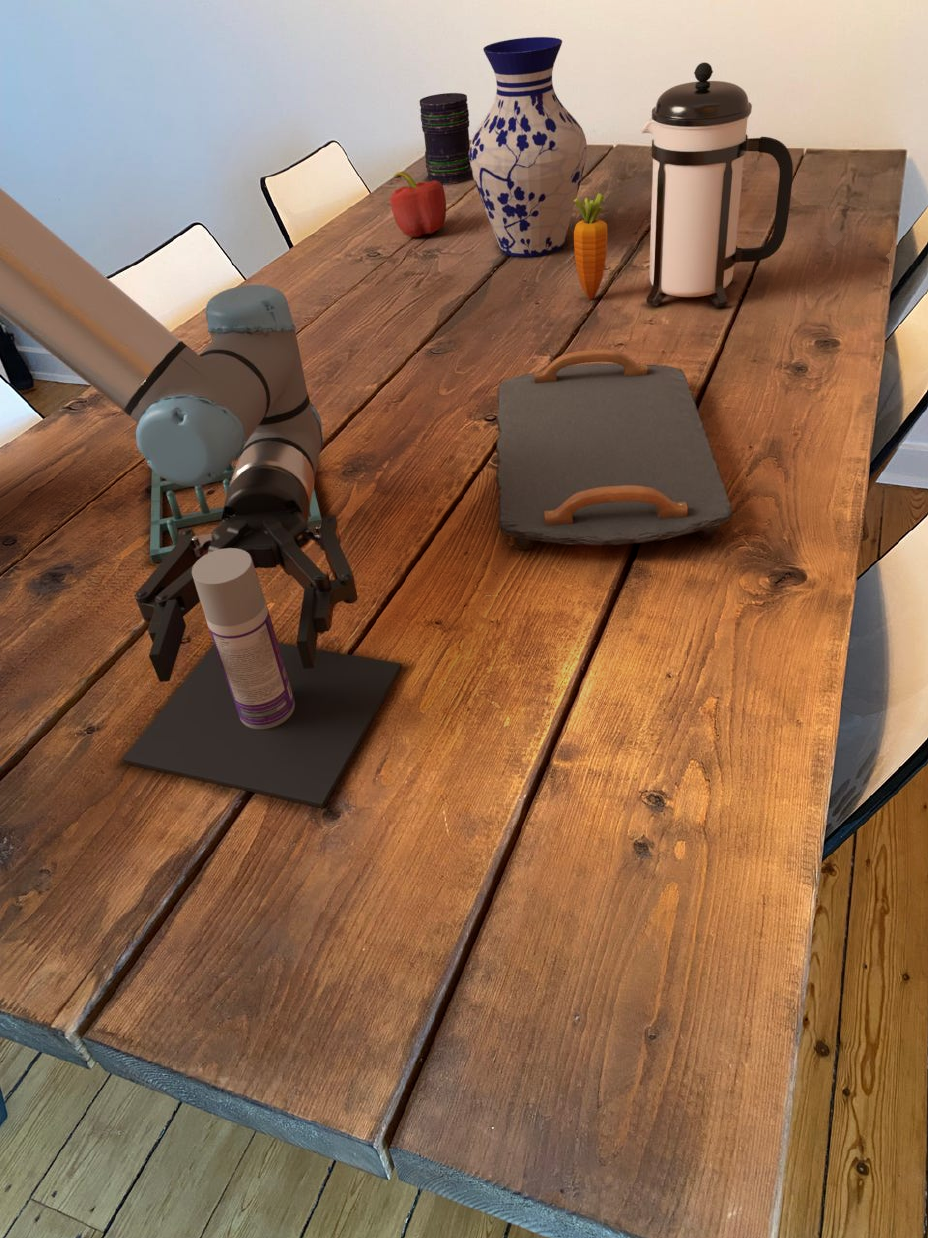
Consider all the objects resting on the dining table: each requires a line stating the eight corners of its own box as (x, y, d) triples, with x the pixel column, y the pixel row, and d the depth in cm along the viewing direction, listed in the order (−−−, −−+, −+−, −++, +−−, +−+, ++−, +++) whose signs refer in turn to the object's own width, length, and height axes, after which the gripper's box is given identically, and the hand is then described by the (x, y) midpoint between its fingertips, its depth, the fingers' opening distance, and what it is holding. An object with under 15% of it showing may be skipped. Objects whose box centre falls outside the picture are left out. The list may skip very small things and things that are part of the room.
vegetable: (380, 235, 174) (372, 178, 168) (423, 220, 179) (416, 163, 173) (419, 246, 167) (411, 186, 161) (461, 229, 172) (456, 171, 166)
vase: (531, 221, 173) (522, 29, 154) (610, 239, 161) (612, 35, 142) (454, 252, 164) (434, 53, 144) (532, 274, 152) (523, 60, 133)
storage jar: (463, 184, 195) (456, 103, 185) (420, 184, 198) (411, 104, 188) (480, 170, 202) (474, 92, 192) (437, 170, 205) (430, 93, 195)
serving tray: (740, 557, 90) (747, 502, 86) (497, 572, 92) (492, 518, 88) (679, 377, 120) (682, 330, 116) (496, 390, 121) (493, 344, 117)
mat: (124, 763, 76) (122, 759, 76) (224, 637, 88) (222, 633, 88) (323, 808, 71) (322, 804, 71) (402, 667, 82) (401, 663, 82)
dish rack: (152, 563, 98) (139, 528, 96) (154, 466, 114) (143, 434, 112) (323, 526, 101) (315, 491, 98) (301, 437, 117) (294, 404, 114)
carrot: (568, 302, 142) (566, 197, 132) (584, 291, 145) (583, 187, 135) (597, 307, 139) (597, 200, 130) (613, 295, 142) (614, 190, 133)
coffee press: (680, 324, 132) (693, 81, 113) (619, 290, 143) (622, 64, 124) (782, 295, 136) (811, 57, 117) (715, 264, 148) (732, 43, 129)
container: (251, 687, 81) (205, 545, 72) (302, 692, 80) (262, 548, 71) (230, 727, 78) (179, 583, 68) (283, 732, 77) (239, 586, 67)
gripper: (397, 522, 89) (391, 684, 72) (159, 545, 90) (97, 711, 73) (386, 452, 84) (377, 608, 67) (134, 477, 85) (62, 637, 68)
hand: (231, 661), depth 70 cm, fingers open, 10 cm apart
